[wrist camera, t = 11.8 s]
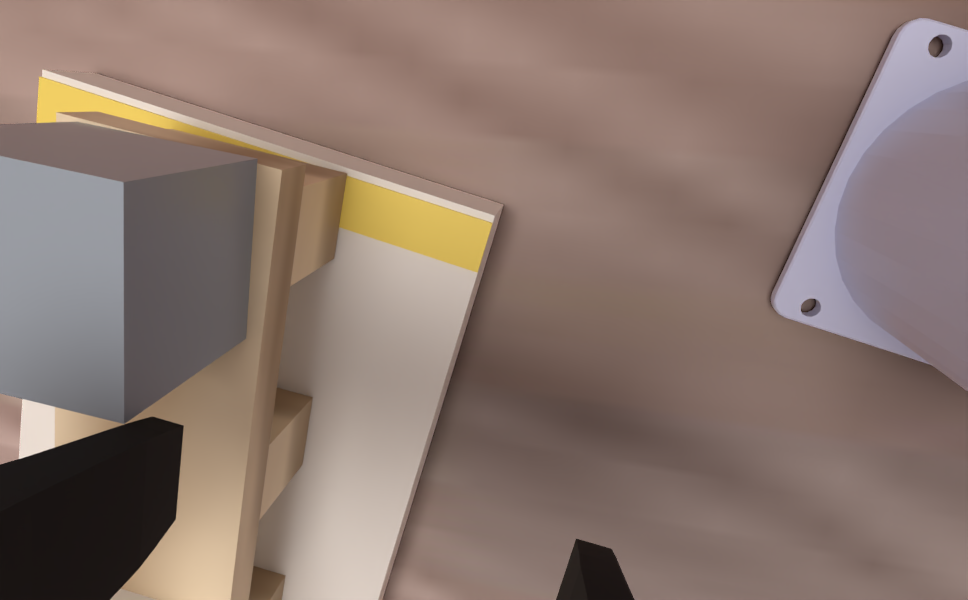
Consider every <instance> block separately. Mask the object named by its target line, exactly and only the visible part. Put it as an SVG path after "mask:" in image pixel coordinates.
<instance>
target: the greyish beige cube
mask: <svg viewBox="0 0 968 600" xmlns="http://www.w3.org/2000/svg"><path fill="white" fill-rule="evenodd" d="M110 600H156V599H153V598H150V597H147V596H143V595H140V594H137V593H133V592H130V591H127V590H123V589H120V590H119V591H118V592H117V593H116V594H115V595H114V596H113V597H112V598H111V599H110Z"/></svg>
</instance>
